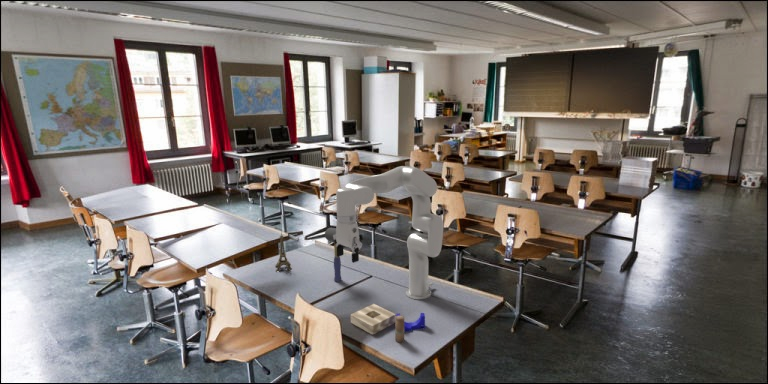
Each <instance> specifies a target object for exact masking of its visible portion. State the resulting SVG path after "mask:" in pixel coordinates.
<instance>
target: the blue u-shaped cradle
mask: <svg viewBox="0 0 768 384" xmlns="http://www.w3.org/2000/svg"><path fill="white" fill-rule="evenodd" d="M395 314H396V316H401V314H400V313H395ZM425 315H426V314H425V313H424V312H420V315H419V317H418V318H417V320H415V321H413V322H407V321H405V320H404V332H412V330H421V329H422V330H424V329H425V330H426V316H425Z"/></svg>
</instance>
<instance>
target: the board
mask: <svg viewBox="0 0 768 384" xmlns="http://www.w3.org/2000/svg"><path fill="white" fill-rule="evenodd" d="M396 314H397V313H394V312H392V311H390V310H387V309H386V308H383V307H381V306H379V305H377V304H375V303H372V304H370V305H368V306H365V307H363V308H362V309H359V310H357V311H355V312H353V313H351V314H350V323H351V324H352V325H354V326H356V327H357V328H359V329H361V330H363V331H365V332H367V333H369V334H370V335H371V336H374V335H376V334H377V333H379V332H381V331H383V330H384V329H386V328H388V327H391V326H392V325H394V324H395V317H396Z"/></svg>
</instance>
